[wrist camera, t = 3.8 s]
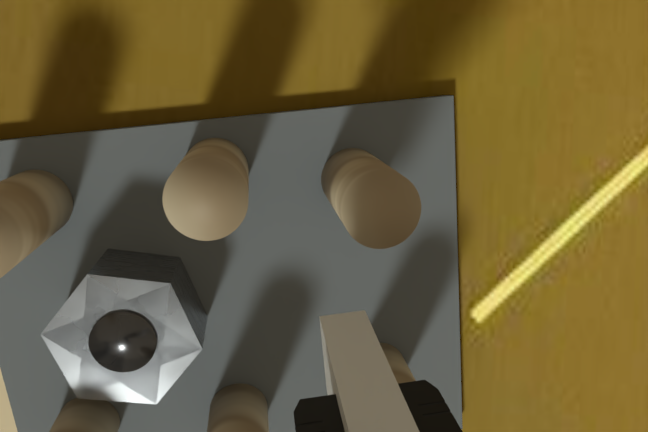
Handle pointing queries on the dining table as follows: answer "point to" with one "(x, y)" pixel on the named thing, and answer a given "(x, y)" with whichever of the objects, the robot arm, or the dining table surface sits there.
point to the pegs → (211, 224)
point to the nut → (128, 328)
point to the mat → (244, 258)
